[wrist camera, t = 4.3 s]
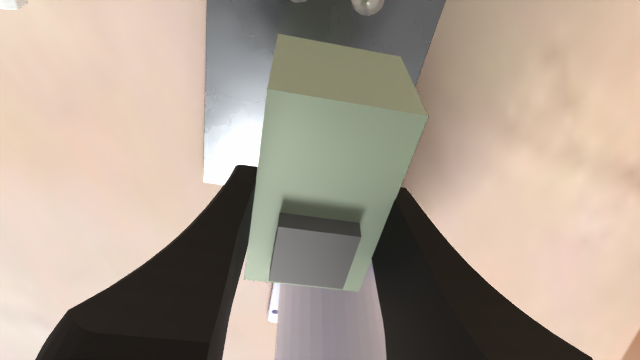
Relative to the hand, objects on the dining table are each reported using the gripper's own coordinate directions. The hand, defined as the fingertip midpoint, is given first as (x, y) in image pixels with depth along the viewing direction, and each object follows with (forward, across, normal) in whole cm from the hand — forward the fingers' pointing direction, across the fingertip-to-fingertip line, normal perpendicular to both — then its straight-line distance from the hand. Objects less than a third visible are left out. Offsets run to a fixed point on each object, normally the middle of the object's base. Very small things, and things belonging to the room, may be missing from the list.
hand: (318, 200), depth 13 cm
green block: (+3, 0, 0) cm, 3 cm away
